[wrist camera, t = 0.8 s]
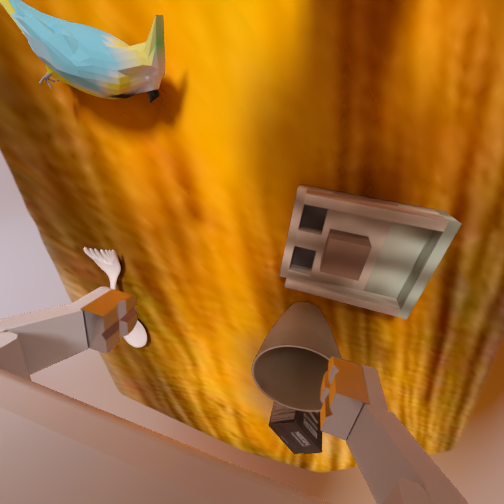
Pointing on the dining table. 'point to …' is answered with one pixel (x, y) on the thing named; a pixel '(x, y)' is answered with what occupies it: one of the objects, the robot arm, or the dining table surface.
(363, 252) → the walnut block
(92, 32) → the decorative bird
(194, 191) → the dining table surface
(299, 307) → the plant pot
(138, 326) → the white plastic spork
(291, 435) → the coffee box
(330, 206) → the tray
